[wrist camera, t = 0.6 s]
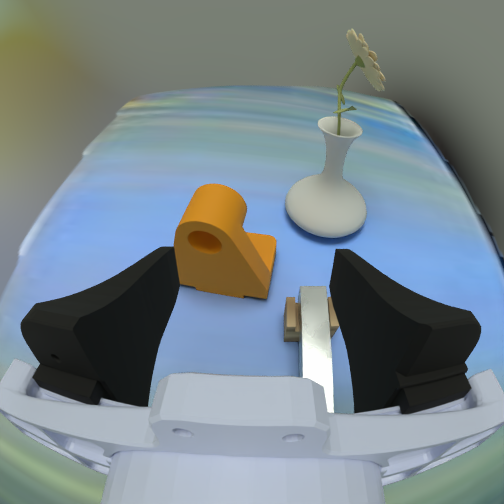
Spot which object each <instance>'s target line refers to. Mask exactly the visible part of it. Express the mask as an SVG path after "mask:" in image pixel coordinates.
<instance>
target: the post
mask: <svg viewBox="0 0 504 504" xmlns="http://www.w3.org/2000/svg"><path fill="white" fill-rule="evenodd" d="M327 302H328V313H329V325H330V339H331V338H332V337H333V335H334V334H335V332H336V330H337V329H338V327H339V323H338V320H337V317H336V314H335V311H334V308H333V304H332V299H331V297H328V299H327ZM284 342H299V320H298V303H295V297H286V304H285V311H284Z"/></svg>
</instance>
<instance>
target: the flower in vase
mask: <svg viewBox="0 0 504 504" xmlns="http://www.w3.org/2000/svg"><path fill="white" fill-rule="evenodd" d="M346 37H347V40H348V42H349V45H350V47H351V51H352V53H353V55H354V56H355V58H356V59H355V63H354V64H353V65H352V67H351V68H350V69H349V71H348V72H347V74H346V75H345V77H344V79H343V81H342V83H341V85H340V86H339V85H337V91H338V111H335V112H333V113H338V117H325V118H322V119H320V120H319V121H318V126H319V128H320V129H321V131H322V132H323V134H324V137H325V141H326V161H325V167H324V170H323V172H322V173H321V174H317V175H312V176H309V177H306V178H304V179H302V180H300V181H298V182H296V183H295V184H294V185H293V186H292V187H291V189H290V190H289V192H288V193H287V196H286V199H285V207H286V210H287V213H288V214H289V216H290V217H291V219H292V220H293V221H294V222H295V223H296V224H297V225H298V226H299V227H301V228H302V229H304V230H305V231H307V232H309V233H311V234H314V235H317V236H321V237H327V238H338V237H343V236H347V235H349V234H352V233H354V232H356V231H357V230H358V229H360V228H361V227H362V225H363V224H364V222H365V220H366V215H367V211H366V204H365V201H364V199H363V197H362V196H361V194H360V193H359V192H358V191H357V189H356V188H355V187H354V186H353V185H351V184H350V183H349V182H347V181H346V180H344V179H343V176H342V171H343V165H344V161H345V157H346V154H347V151H348V149H349V147H350V145H351V144H352V142H353V141H354V140H355V139H356V138H358V137H359V136H360V135H361V134H362V132H363V131H362V128H361V127H360V126H359V125H358V124H356V123H355V122H353V121H351V120H348V119H345V118H341V112H345V111H349V110H357V109H355V108H354V107H353V106H351V107H350V108H347V109H341V101H342V103H343V104H344V105H345V100H344V97H343V95H342V88H343V86H344V84H345V82H346V80H347V78H348V77H349V75H350V74H351V72H352V71H353V69H354V68H355V67H356V65H358V66H359V67H360V68H361V70H362V71H363V72H364V74H365V76H366V77H367V79H368V80H369V82H370V83H371V85H372V86H373V87H374V88H375V89H376V90H377V91H381V90H382V91H384V90H385V89H384V86H383V85H382V82H381V80H382V81H384V82H385V81H386V80H385V77H384V76H383V74H382V73H381V72H380V67H379V66H378V64H376V61H377V59H378V58H377V55H376V54H375V52H373V51H369V47H368V45H367V43H366V42H365V40H364V37H363V35H362V34H361V33H359V39H358V37H357V35H356V33H355V31H354V30H353V29H351V31H350V30H348V32H347V35H346ZM380 79H381V80H380Z"/></svg>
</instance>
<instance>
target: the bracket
mask: <svg viewBox="0 0 504 504" xmlns="http://www.w3.org/2000/svg"><path fill="white" fill-rule="evenodd" d="M246 212H247V206H246V203H245V201H244V199H243V198H242V197H241V195H240V194H239V193H237V192H236V191H235V190H233V189H231V188H229V187H227V186H224V185H221V184H206V185H203V186H201V187H199V188H198V189H197V190H196V191H195V193H194V195H193V197H192V199H191V201H190V203H189V205H188V207H187V209H186V211H185V213H184V215H183V217H182V219H181V221H180V223H179V225H178V227H177V229H176V232H175V239H174V249H175V256H176V262H177V269H178V275H179V281H180V284H183V285H188V286H194V287H195V288H196V290H199V291H204V292H210V293H215V294H221V295H226V296H232V297H238V298H244V296H251V297H257V298H264V299H267V296H268V291H269V286H270V281H271V276H272V271H273V265H274V260H275V255H276V239H275V238H274V237H273V236H270V235H263V234H256V233H248V232H245V231H244V229H243V227H242V226H243V223H244V219H245V216H246Z"/></svg>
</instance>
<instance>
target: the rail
mask: <svg viewBox="0 0 504 504" xmlns="http://www.w3.org/2000/svg"><path fill="white" fill-rule="evenodd" d="M298 320H299V374H300V377H303V378H309V379H311V380H313V381H315V382H316V383H318V384H320V385H321V386H323V387H324V391H325V397H326V403H327V409H328V412H330V413H334V410H333V375H332V355H331V339H330V325H329V313H328V302H327V292H326V286H300V290H299V295H298Z"/></svg>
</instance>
